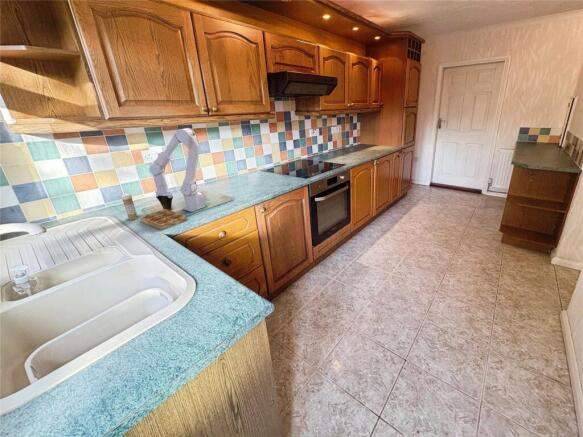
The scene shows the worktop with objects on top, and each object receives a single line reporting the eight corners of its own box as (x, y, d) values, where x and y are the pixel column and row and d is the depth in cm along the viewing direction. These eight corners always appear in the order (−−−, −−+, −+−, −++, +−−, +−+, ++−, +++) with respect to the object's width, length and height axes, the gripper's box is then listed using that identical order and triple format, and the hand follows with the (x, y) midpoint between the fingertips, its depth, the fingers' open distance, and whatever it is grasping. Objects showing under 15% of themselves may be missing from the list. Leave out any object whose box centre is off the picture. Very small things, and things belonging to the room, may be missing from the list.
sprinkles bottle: (131, 217, 142) (123, 193, 137) (139, 216, 142) (132, 193, 137) (127, 220, 138) (119, 196, 132) (135, 219, 138) (128, 195, 133)
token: (169, 208, 152) (167, 202, 151) (173, 209, 150) (172, 203, 149) (162, 210, 149) (160, 204, 148) (166, 212, 147) (164, 206, 145)
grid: (166, 213, 145) (165, 208, 144) (187, 220, 134) (186, 215, 133) (141, 221, 135) (140, 217, 134) (161, 230, 124) (160, 225, 123)
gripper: (147, 185, 145) (154, 207, 150) (161, 188, 137) (167, 212, 142) (159, 182, 150) (165, 204, 155) (173, 185, 142) (179, 208, 147)
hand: (167, 207), depth 149 cm, fingers closed on token, 4 cm apart
